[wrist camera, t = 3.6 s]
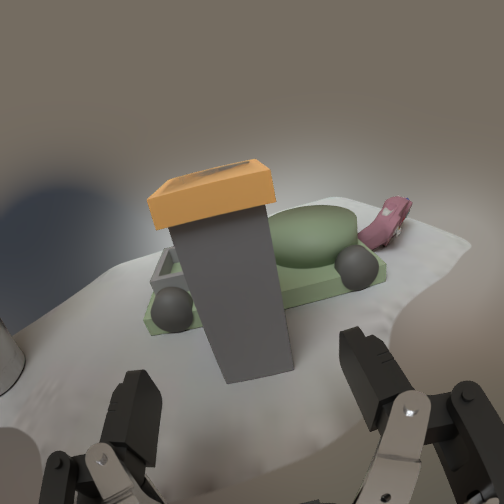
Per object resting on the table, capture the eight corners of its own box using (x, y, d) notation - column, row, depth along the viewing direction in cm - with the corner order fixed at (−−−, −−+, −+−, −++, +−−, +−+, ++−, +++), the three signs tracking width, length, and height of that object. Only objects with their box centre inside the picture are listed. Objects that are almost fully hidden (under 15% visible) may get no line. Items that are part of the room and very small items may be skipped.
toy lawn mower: (150, 336, 25) (130, 295, 23) (172, 263, 40) (162, 232, 38) (386, 282, 26) (388, 236, 24) (331, 227, 41) (327, 195, 38)
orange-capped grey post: (220, 390, 18) (146, 199, 13) (219, 337, 24) (168, 179, 18) (302, 373, 18) (270, 169, 13) (285, 323, 24) (255, 158, 18)
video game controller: (378, 268, 31) (404, 223, 26) (348, 247, 33) (370, 200, 28) (401, 236, 37) (421, 198, 32) (376, 220, 39) (394, 180, 34)
